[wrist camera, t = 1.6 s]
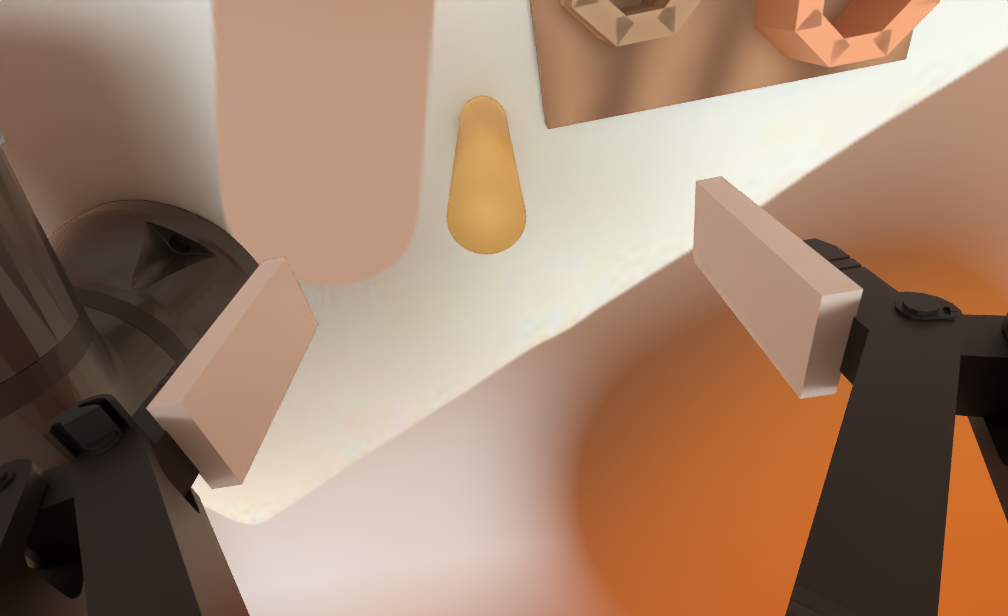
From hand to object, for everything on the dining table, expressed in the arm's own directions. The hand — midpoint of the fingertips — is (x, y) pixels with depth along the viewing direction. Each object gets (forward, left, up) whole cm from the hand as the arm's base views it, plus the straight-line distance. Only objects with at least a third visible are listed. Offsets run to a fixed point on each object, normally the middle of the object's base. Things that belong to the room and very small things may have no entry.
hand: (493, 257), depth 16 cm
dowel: (0, 0, -19) cm, 19 cm away
